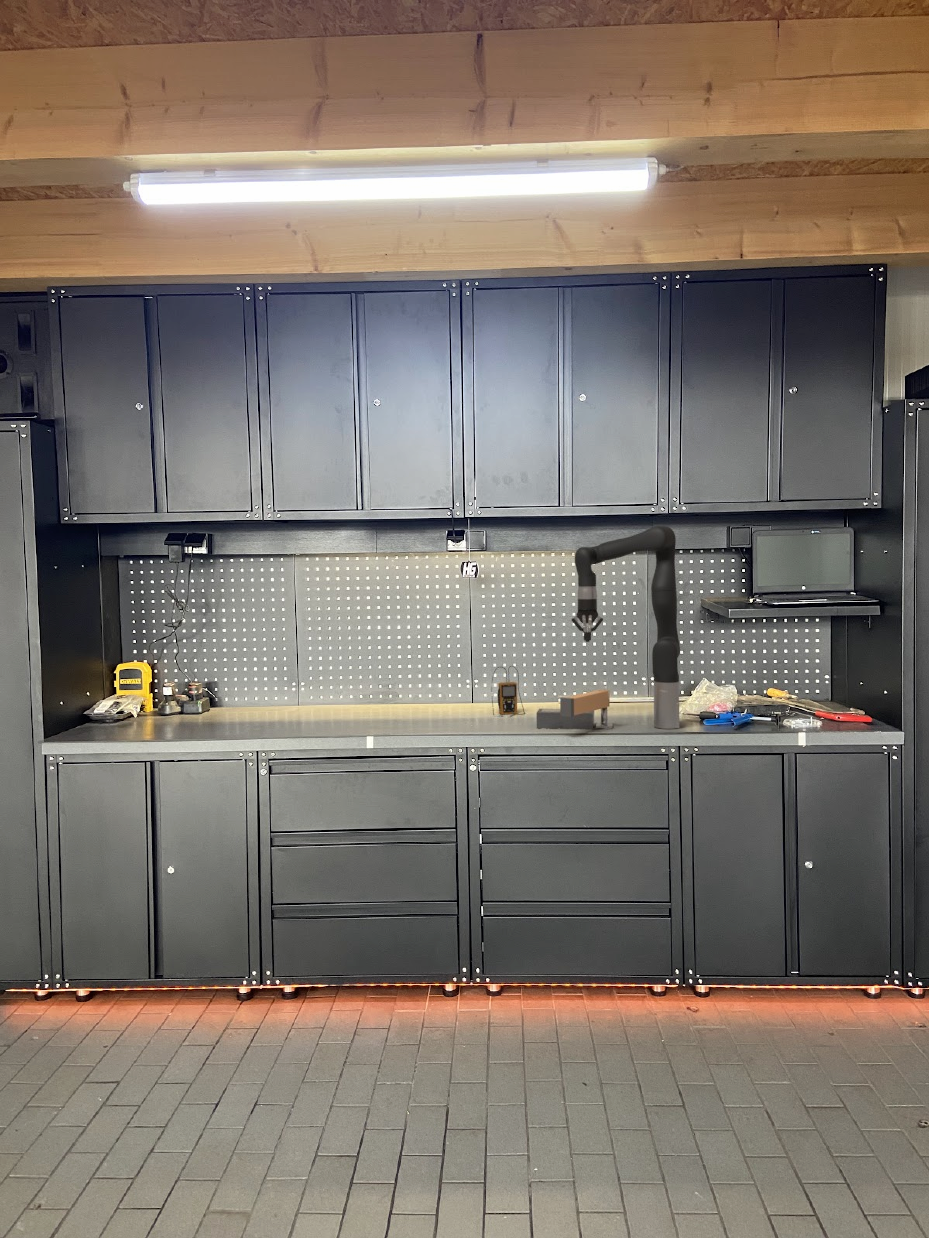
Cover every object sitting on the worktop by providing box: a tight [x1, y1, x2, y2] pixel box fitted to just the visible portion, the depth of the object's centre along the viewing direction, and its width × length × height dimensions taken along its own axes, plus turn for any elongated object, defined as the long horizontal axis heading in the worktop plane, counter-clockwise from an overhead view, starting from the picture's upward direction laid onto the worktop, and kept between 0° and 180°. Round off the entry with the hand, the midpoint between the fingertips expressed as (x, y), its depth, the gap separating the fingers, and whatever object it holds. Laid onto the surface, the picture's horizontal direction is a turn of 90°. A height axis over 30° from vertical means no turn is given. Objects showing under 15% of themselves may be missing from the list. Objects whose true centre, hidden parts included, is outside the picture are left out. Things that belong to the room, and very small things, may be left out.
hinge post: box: [595, 707, 614, 730], centre depth 346 cm, size 6×6×8 cm
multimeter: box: [490, 665, 526, 717], centre depth 377 cm, size 15×10×20 cm
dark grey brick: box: [536, 708, 595, 730], centre depth 349 cm, size 21×10×6 cm, turn 79°
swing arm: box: [559, 689, 611, 717], centre depth 336 cm, size 29×4×6 cm, turn 141°
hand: (587, 641), depth 362 cm, fingers closed
